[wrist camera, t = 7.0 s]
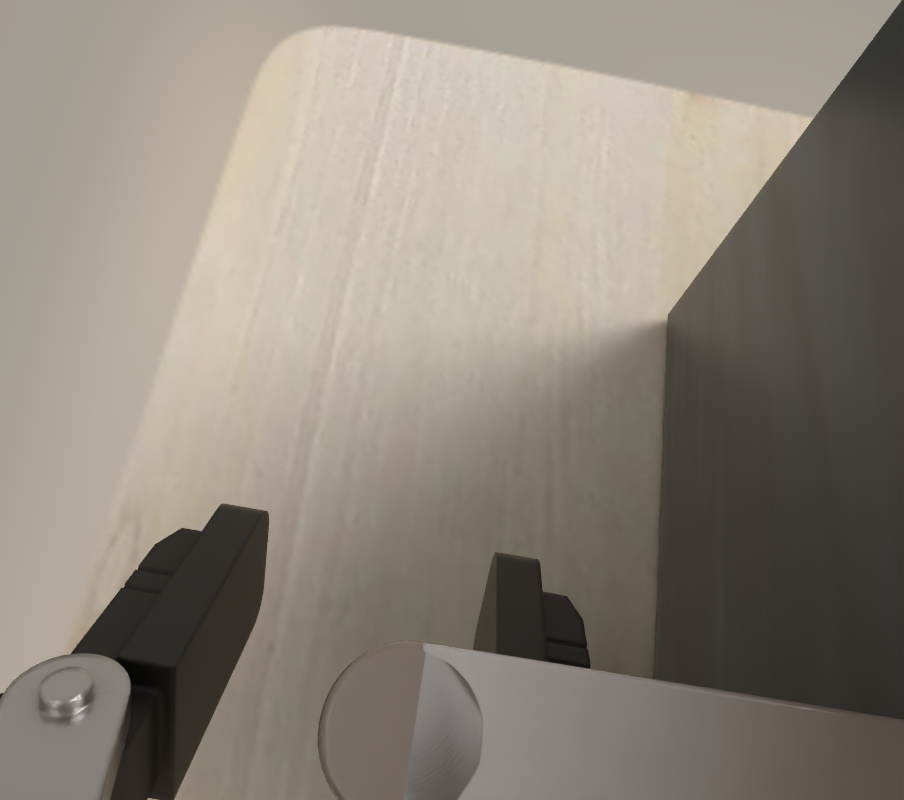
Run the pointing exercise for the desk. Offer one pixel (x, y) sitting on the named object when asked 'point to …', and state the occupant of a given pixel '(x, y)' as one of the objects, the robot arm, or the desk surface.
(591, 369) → the desk surface
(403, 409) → the desk surface
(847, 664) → the cupboard door
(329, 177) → the desk surface
